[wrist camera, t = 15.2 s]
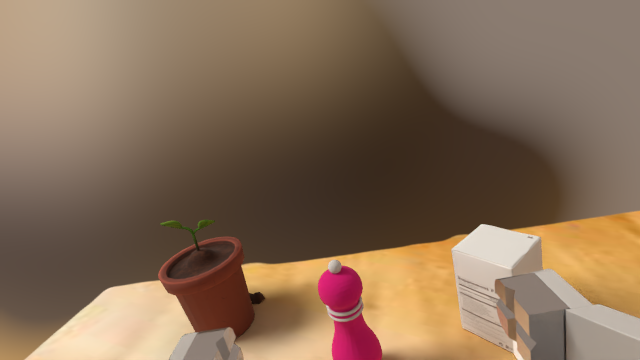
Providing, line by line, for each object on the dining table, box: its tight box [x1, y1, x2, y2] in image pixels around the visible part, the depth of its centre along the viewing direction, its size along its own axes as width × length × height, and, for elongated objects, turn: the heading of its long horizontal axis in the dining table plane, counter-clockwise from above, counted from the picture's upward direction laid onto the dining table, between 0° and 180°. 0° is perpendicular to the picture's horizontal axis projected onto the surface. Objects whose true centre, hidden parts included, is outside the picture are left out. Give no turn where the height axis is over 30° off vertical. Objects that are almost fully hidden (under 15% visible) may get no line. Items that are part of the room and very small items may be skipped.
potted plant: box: [158, 220, 265, 339], centre depth 67 cm, size 18×22×25 cm
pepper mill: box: [318, 260, 382, 360], centre depth 46 cm, size 7×7×20 cm
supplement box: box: [452, 224, 543, 353], centre depth 50 cm, size 9×9×15 cm
